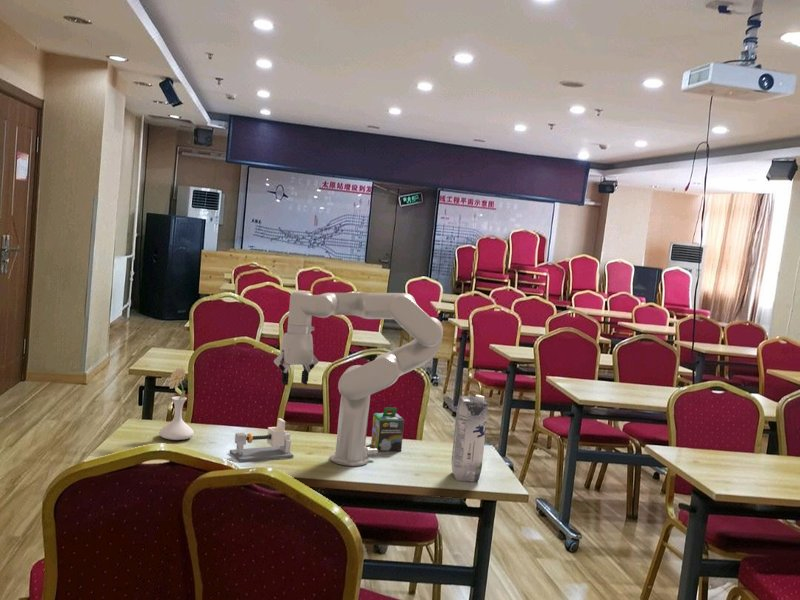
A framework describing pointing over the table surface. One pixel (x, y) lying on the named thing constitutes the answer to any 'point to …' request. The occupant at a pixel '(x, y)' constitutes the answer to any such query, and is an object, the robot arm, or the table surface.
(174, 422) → the flower in vase
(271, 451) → the mini bench vise
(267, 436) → the lead screw with knob
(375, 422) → the chalk box
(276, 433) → the cream tall block
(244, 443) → the connector
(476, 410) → the juice carton
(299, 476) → the table surface
